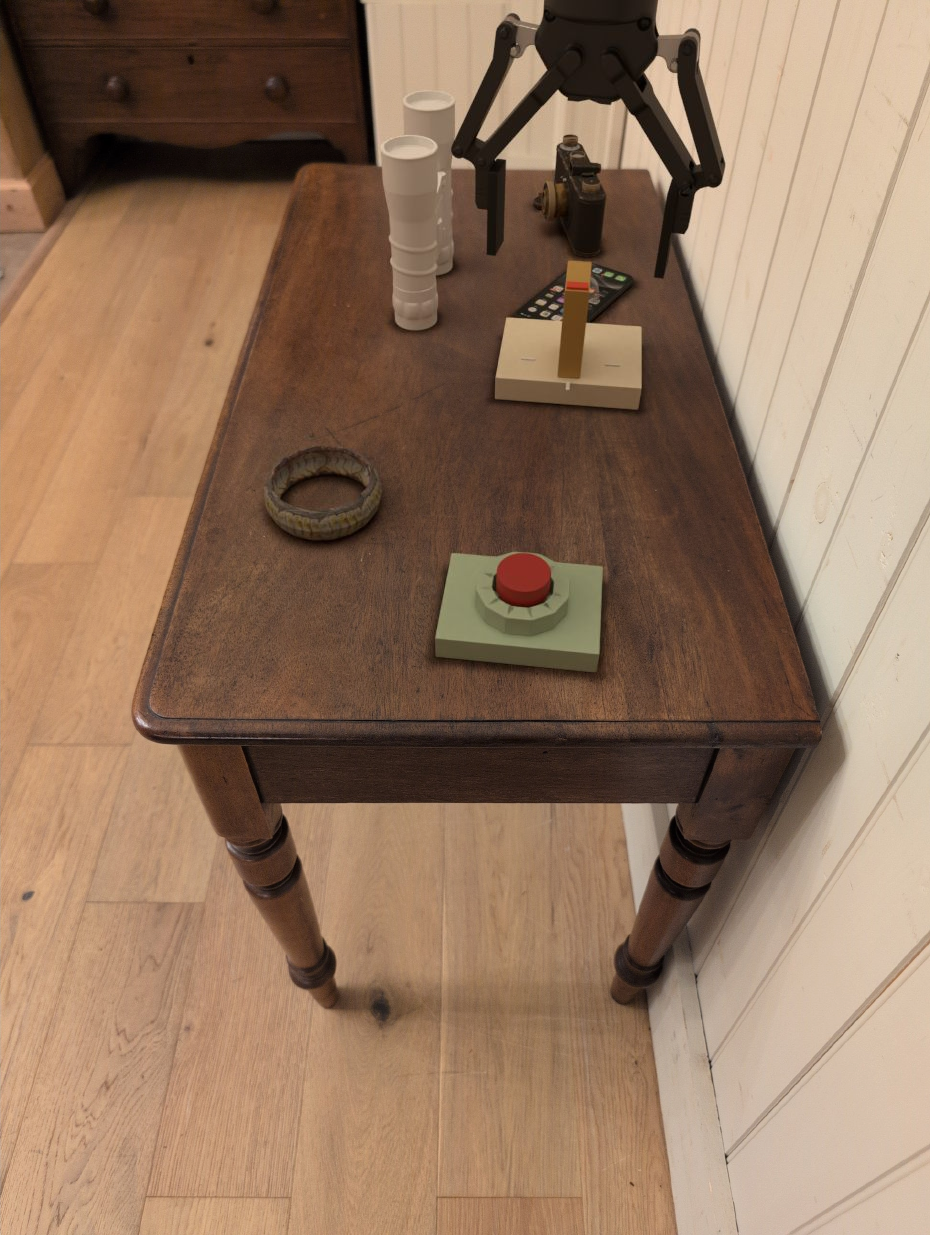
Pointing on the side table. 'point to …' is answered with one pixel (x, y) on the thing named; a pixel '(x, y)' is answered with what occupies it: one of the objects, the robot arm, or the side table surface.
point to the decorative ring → (318, 464)
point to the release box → (521, 617)
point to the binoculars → (420, 205)
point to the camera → (575, 197)
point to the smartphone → (602, 294)
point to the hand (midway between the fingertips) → (576, 259)
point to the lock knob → (574, 318)
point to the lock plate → (604, 368)
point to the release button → (523, 580)
